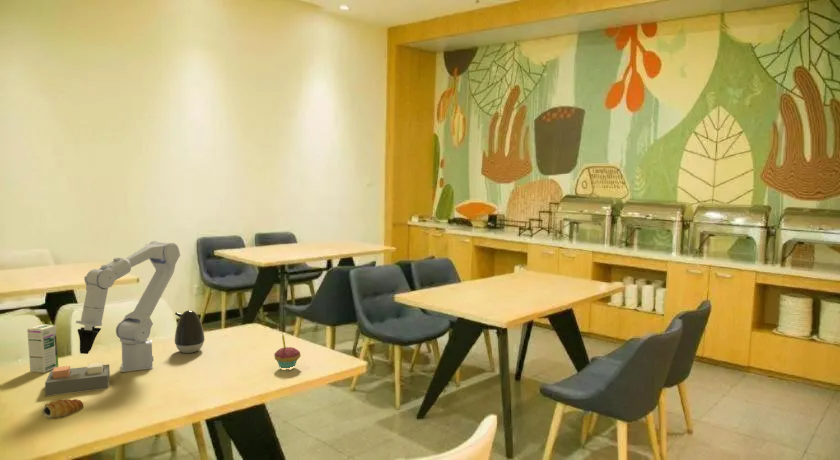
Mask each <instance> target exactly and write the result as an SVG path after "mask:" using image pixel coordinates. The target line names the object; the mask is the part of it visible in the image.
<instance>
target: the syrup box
mask: <svg viewBox="0 0 840 460" xmlns="http://www.w3.org/2000/svg"><path fill="white" fill-rule="evenodd" d="M26 331H27V341H28V342H27V345H28V356H29V359H28V361H29V371H30V372H34V373H42V374H43V373H44V374H45V373H46V372H50V371H53V370H54V367H59V358H58V357H59V356H58V340H57V325H55V324H48V323H46V324H40V325H36V326H34V327H30V328H27V329H26Z"/></svg>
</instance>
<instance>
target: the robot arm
mask: <svg viewBox="0 0 840 460" xmlns="http://www.w3.org/2000/svg"><path fill="white" fill-rule="evenodd" d="M180 257H181V252H180V248H179V246H178V244H176V243H174V242H164V241H163V242H161V241H157V240H156V241H155V240H154V241H153V240H152V241H151V242H149V243H147V244H146V243H145V245H144V247H143V246H142V248H140V249H138V250H137V251H135V252H133V253H132V254H131V255H129V256H127V257H126V258H124V257H114V258H113V261H110V262H108V263H107V264H102V265H101V266H100V267H99V268H93V269H90V270H89V271H88V273H87V274H86V275H85V276H84V283H85V285H86V287H85V290H86V294H85V296H84V297H85V298H84V304H83V307H82V312H81V318H80V320H76V321H75V323H76V324H80V325H82V326H81V327H80V328H78V329H77V334H78V338H79V354H80V355H81V354H83V355H88V354H89V353H90V351H92V348H93V346H94V342H95V339H96V338H97V335H99V333H100V331H101V330H102V328H101V327H102V325H103V317H104V312H105V308H106V302H107V295H108V291H109V288H112V286H114V283H115V282H116V281H117V280H119V279H120V278H122V277H124V276H126V275H128V274H130V272H131V270H132V268H133V267H135V266H137V265H140V264H141V263H144V262H145V261H150V263H151V264H152V266H153V267H154V269H155V272H154V274H153V275H152V277H151V279H150V281H149V282H148V285H147V286H146V288H145V290H144V292H143V293H142V295H141V297H140V299H139V300H138V303H137V304H136V307H135V308H134V310H133V311H131V312H129V313H128V314H126V315H125V316H124V318H123V319H122V320H121V321H120V322H118V324H117V326H116V327H115V334H116V335H115V336H117V338H118V339H119V341H120V342H121V366H120V372H121V373H124V372H132V371H133V372H134V371H143V370H151V369H153V362H154V355H153V340H152V339H148V338H149V337H150V335H151V330H152V327H153V325H154V323H153V321H152V319H151V316H152V314H153V313H154V310H155V308H156V306H157V305H158V303H159V301H160V299H161V297H162V295H163V293H164V291H165V290H166V288H167V286H168V284H169V282H170V280H171V279H172V277H173V275H174V272H175V269H176V264H177V262H178V260H179V258H180ZM83 326H84V327H83ZM100 326H101V327H100Z"/></svg>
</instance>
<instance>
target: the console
mask: <svg viewBox="0 0 840 460" xmlns="http://www.w3.org/2000/svg"><path fill="white" fill-rule="evenodd" d="M87 367H88V366H81V367H75V368H73V367H72V368H70V376H69V377H61V378H53V370H49V374H48V376H47V378H46V380H45V382H44V386H45V391H44V392H45V397H48V396H56V395H65V394H73V393H81V392H89V391H97V390H105V389H108V388H109V384H110V383H109V382H110V377H111V374H110V372H111V371H110V364H103V373H96V374H87Z"/></svg>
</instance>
